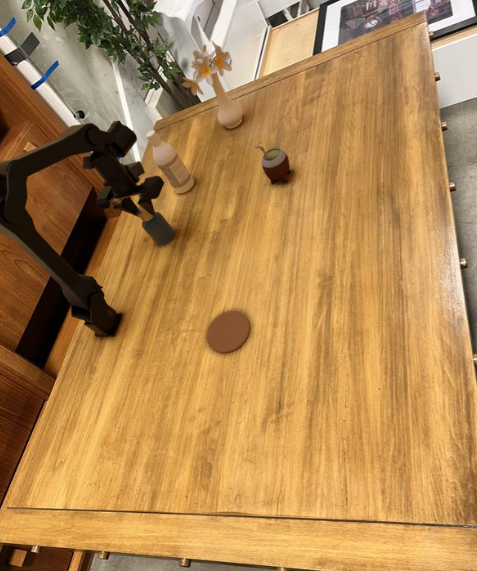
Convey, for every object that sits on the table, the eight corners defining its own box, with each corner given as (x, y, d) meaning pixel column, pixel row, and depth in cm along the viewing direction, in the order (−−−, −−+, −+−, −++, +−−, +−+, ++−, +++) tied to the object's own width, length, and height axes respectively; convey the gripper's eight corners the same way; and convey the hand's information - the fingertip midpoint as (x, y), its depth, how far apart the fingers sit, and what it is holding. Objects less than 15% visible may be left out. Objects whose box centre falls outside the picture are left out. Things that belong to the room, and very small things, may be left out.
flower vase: (207, 143, 133) (169, 73, 115) (230, 108, 141) (198, 38, 122) (238, 141, 126) (203, 66, 108) (261, 105, 133) (232, 29, 115)
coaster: (245, 353, 79) (244, 352, 79) (203, 352, 84) (201, 351, 83) (253, 311, 85) (252, 309, 84) (213, 312, 89) (212, 311, 89)
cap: (157, 211, 106) (151, 203, 104) (149, 222, 104) (143, 214, 102) (147, 210, 108) (141, 203, 106) (139, 221, 106) (133, 213, 104)
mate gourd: (286, 165, 109) (268, 118, 98) (299, 178, 104) (282, 130, 93) (263, 179, 109) (243, 134, 98) (275, 193, 104) (255, 147, 93)
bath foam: (173, 186, 126) (138, 134, 111) (192, 175, 126) (158, 121, 111) (177, 197, 122) (141, 145, 107) (197, 186, 121) (162, 131, 106)
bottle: (171, 244, 109) (149, 217, 101) (152, 246, 112) (130, 220, 104) (177, 227, 113) (156, 200, 105) (159, 230, 116) (138, 203, 107)
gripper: (153, 141, 95) (184, 188, 106) (95, 157, 103) (130, 199, 114) (138, 172, 89) (173, 218, 100) (78, 186, 97) (117, 228, 108)
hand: (147, 215), depth 106 cm, fingers closed on cap, 4 cm apart
